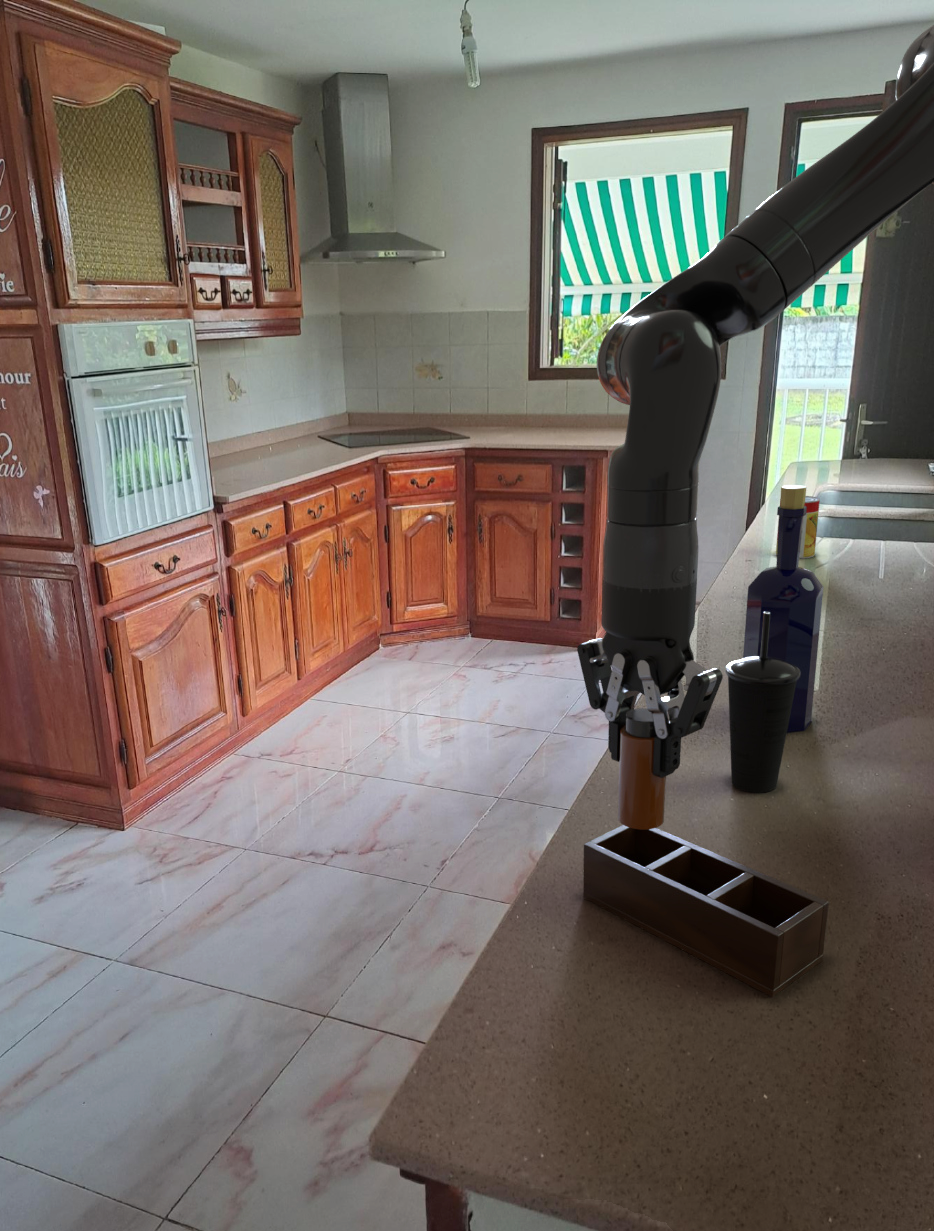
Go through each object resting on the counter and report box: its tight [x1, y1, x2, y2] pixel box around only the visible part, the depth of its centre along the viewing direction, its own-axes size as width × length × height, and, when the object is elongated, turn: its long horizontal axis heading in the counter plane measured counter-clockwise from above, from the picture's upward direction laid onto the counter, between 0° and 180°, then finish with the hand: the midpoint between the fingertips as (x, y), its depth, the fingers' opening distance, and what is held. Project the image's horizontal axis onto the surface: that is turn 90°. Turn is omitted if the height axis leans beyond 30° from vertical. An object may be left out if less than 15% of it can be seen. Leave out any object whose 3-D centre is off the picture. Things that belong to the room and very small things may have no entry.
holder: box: [582, 824, 830, 998], centre depth 85 cm, size 7×20×6 cm, turn 38°
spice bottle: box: [617, 707, 667, 830], centre depth 87 cm, size 4×4×10 cm
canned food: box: [775, 495, 821, 560], centre depth 212 cm, size 8×8×12 cm
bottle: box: [742, 484, 824, 734], centre depth 124 cm, size 9×9×30 cm
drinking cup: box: [724, 612, 800, 794], centre depth 108 cm, size 8×8×20 cm
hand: (642, 765), depth 86 cm, fingers closed on spice bottle, 4 cm apart
